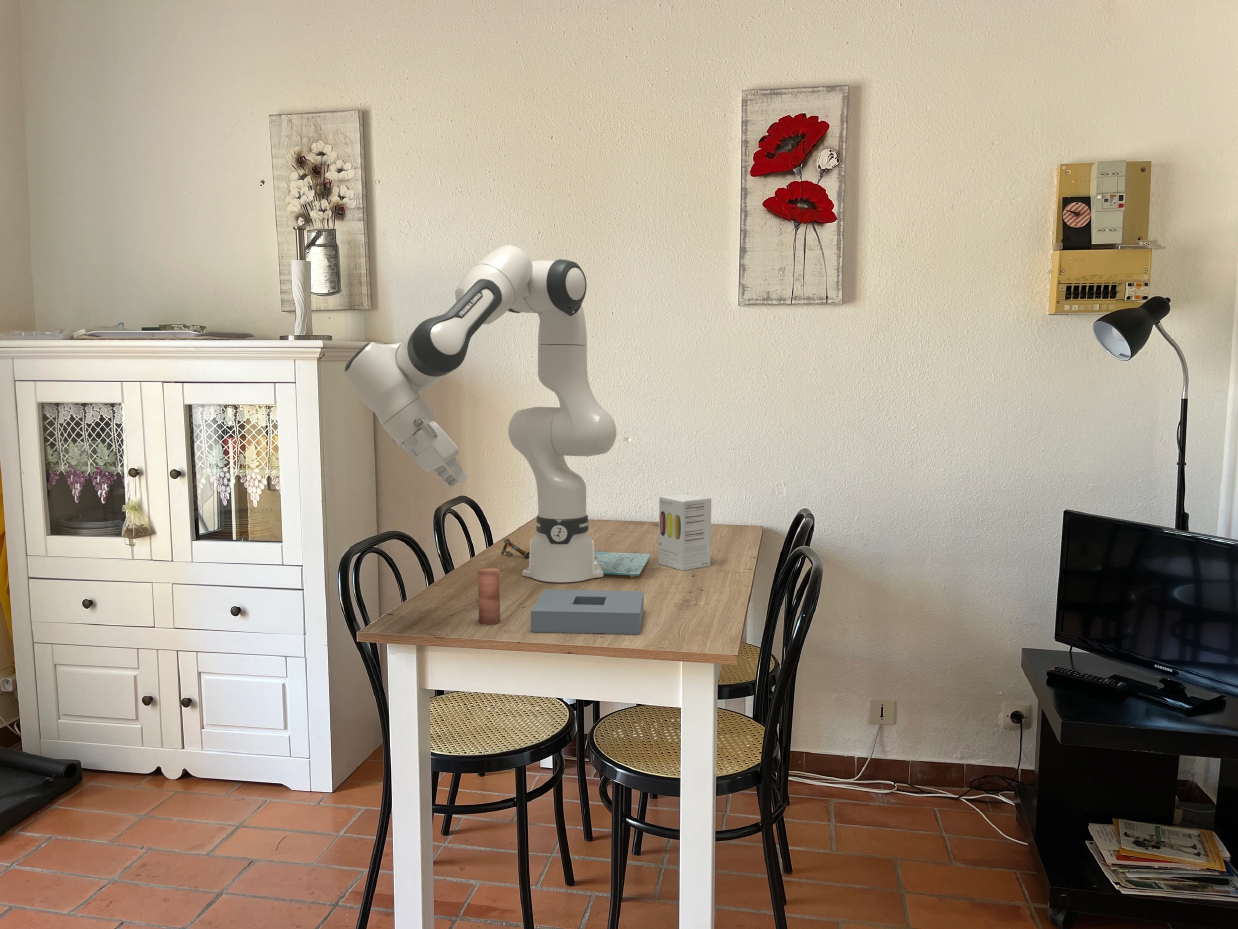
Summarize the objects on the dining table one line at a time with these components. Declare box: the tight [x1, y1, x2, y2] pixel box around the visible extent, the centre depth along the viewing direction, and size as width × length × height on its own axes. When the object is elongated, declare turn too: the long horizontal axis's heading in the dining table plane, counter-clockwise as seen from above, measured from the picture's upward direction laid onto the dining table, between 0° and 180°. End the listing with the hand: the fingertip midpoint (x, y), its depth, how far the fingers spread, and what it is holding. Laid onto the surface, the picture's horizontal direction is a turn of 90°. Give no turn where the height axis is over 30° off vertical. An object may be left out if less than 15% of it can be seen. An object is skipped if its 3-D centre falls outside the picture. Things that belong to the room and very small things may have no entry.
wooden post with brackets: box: [500, 538, 530, 559], centre depth 234 cm, size 2×8×4 cm, turn 63°
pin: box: [477, 567, 501, 626], centre depth 175 cm, size 4×4×10 cm
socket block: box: [530, 588, 645, 635], centre depth 176 cm, size 16×20×4 cm
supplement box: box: [658, 493, 712, 571], centre depth 224 cm, size 10×9×17 cm
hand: (458, 483), depth 171 cm, fingers open, 8 cm apart
